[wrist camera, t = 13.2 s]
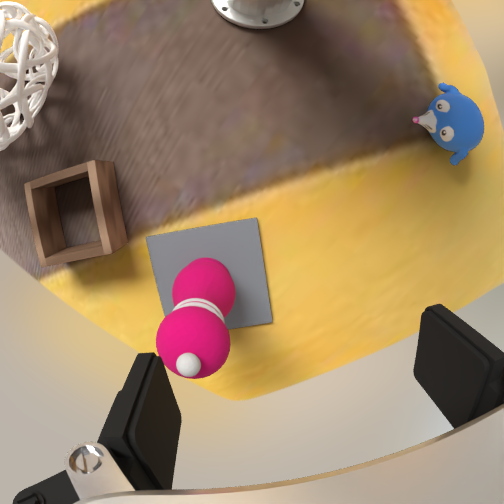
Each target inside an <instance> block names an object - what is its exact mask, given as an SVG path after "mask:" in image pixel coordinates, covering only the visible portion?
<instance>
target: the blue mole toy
mask: <svg viewBox="0 0 504 504" xmlns="http://www.w3.org/2000/svg"><path fill="white" fill-rule="evenodd" d="M439 89H440V90H441V91H443V92H445V94H442V95H439V96H438V97H436V98H435V99H434V100H433V101H432V102H431V104H430V105H429V108H428V110H427V112H426V113H425V114H424V115H422V116H420V117H413V119H412V121H413V122H414V123H419V124H420V125H422V126H423V127H425V128H426V129H427V130H428V131H429V133H430V135H431V136H432V138H433V139H434V141H435V142H436V143H437V144H438V145H439V146H441V147H442V148H444V149H446V150H448V151H451V152H455V153H454V154H453V155H452V156H451V158H450V163H451V164H452V165H457V164H458V163H459V162H460V161H461V160H462V159H464V158H465V157H466V156H467V155H468V151H470V150H472V149H474V148H475V147H476V146H477V145H478V144H479V143H480V141H481V139H482V137H483V133H484V121H483V117H482V114H481V112H480V110H479V108H478V107H477V105H476V104H475V103H474V102H473V101H472V100H471V99H470V98H468V97H466V96H464V95H462V94H461V93H460V92H459V91H458V89H457V88H455V87H454V86H452V85H447V84H445V83H440V84H439Z"/></svg>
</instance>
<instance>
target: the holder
mask: <svg viewBox="0 0 504 504" xmlns="http://www.w3.org/2000/svg"><path fill="white" fill-rule="evenodd" d="M85 177H89V180H90V186H91V192H92V197H93V203H94V208H95V213H96V218H97V223H98V228H99V233H100V237H101V240H100V241H96V242H91V243H86V244H82V245H77V246H72V247H68V248H67V247H66V243H65V239H64V234H63V230H62V225H61V220H60V215H59V210H58V205H57V199H56V193H55V187H56V186H59V185H62V184H65V183H69V182H72V181H75V180H79V179H82V178H85ZM24 187H25V194H26V200H27V206H28V212H29V217H30V222H31V227H32V232H33V236H34V241H35V245H36V249H37V253H38V257H39V261H40V265H41V267H46V266H51V265H56V264H61V263H66V262H71V261H76V260H81V259H86V258H91V257H97V256H102V255H107V254H112V253H114V252H115V251H117V250H118V249H120V248H121V247H123V246H124V245H126V244H127V243H128V239H127V234H126V230H125V225H124V220H123V215H122V210H121V205H120V199H119V194H118V188H117V182H116V176H115V169H114V163H113V162H109V161H100V160H93V161H89V162H86V163H83V164H80V165H76V166H73V167H70V168H67V169H64V170H61V171H58V172H55V173H52V174H49V175H46V176H43V177H41V178H38V179H35V180H32V181H30V182H27V183H24Z"/></svg>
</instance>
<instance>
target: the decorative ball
mask: <svg viewBox="0 0 504 504" xmlns="http://www.w3.org/2000/svg"><path fill="white" fill-rule="evenodd" d="M0 9H4V10H0V49H1V46H2V43H3V39H4V38H5V37H6V36H7V35H8V34H9V33H10V32H11V33H12V34H13V35H14V42H13V45H12V46H11V47H10V48H8V49H6V50H5V51H3V52H2V53H1V54H0V60H1V62H0V73H5V74H6V75H7V76H10V77H12V78H15V79H17V83H16V85H15V86H14V88H13V89H12V91H11V92H8V91H6V90H4V89H2V88H0V97H1V100H0V110H1V109H3V108H5V107H7V106H9V105H11V104H13V105H14V107H15V113H13V114H8V115H6V116H4V117H3V115H2V113H1V111H0V142H1V143H0V151H2V150H4V149H5V148H7V147H8V146H9V144H10V143H12V142H13V141H15V140H16V139H17V138H18V137H20V135H21V134H22V133H23V132H24V130H25V129H26V127H28V128H31V127H32V126H33V124H34V118H35V117H36V115H37V114H38V112H39V111H40V109H41V108H42V106H43V104H44V102H45V100H46V97H47V91H48V89H49V87H50V86H51V84H52V82H53V80H54V78H55V76H56V73H57V70H58V56H57V55H58V52H59V49H58V41H57V37H56V35H55V33H54V30H53V29H52V27H51V26H50V25H49V24H48V23H47V22H46V21H45V20H43V19H41V18H39V17H37V16H36V15H34V14H32V13H30V12H29V10H28V9H26V8H25V7H24V6H23V5H21V4H19V3H16V2H2V3H0ZM23 13H24V14H25V15H24V16H23ZM22 16H23V18H22ZM5 17H6V18H11V20H6V19H5ZM13 18H14V19H13ZM21 18H22V19H21ZM39 24H40V25H39ZM41 25H42V26H41ZM5 29H7V30H6V31H5ZM23 30H26V31H24V32H23ZM22 32H23V34H22ZM48 32H49V33H48ZM21 34H22V35H21ZM49 34H50V35H51V37H52V39H53V42H51V41H50V40H49V39H48V36H49ZM43 41H44V42H43ZM28 44H30V45H32V46H33V47H34V48H33V49H32V51H31V53H30V56H29V60H27V55H28ZM44 46H45V47H47V48H48V49H49V50H50V52H49V53H48V52H47V51H46V50H45V48H44ZM12 52H13V53H14V56H15V59H16V60H17V63H4V62H5V60H6V58H7V57H8V56H9V55H10V54H11V53H12ZM34 53H35V58H34V59H32V57H33V54H34ZM53 62H54V66H53V71H52V64H53ZM43 63H44V64H43ZM40 64H43V65H42V66H41V67H40ZM33 66H36V70H37V71H38V72H37V73H33V70H32V67H33ZM27 69H29V74H26V70H27ZM17 72H18V73H17ZM25 81H30V82H28V83H27V85H26V86H25V88H24V84H25ZM37 82H45V85H42V84H35V83H37ZM30 86H31V87H30ZM31 94H32V97H31V98H30V99H29V100H27V96H29V95H31ZM4 97H5V98H4ZM29 105H30V106H29ZM21 113H22V114H23V116H24V121H23V123H22V124H21V125H20V115H21ZM6 118H7V119H6ZM5 119H6V120H5ZM11 121H13V122H12V125H11V127H7V125H8V124H9V123H10V122H11Z"/></svg>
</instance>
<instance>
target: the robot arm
mask: <svg viewBox="0 0 504 504" xmlns="http://www.w3.org/2000/svg"><path fill="white" fill-rule="evenodd" d="M211 2H212V4H213V6H214V8H215V10H216V11H217V12H218V13H219V14H220V15H221V16H222V17H223V18H224V19H226V20H228V21H230V22H231V23H234V24H236V25H239V26H242V27H246V28H253V29H268V28H273V27H278V26H281V25H283V24H285V23H287V22H289V21H291V20H292V19H293V18H294V17H296V16H297V14H298V13H299V12H300V10H301V8H302V6H303V3H304V0H211ZM264 23H266V24H264ZM414 376H415V378H416V380H417V381H418V382H419V384H420V385H421V386H422V387H423V388H424V390H425V391H426V393H427V394H428V395H429V396H430V398H431V399H432V400H433V401H434V403H435V404H436V405H437V407H438V408H439V409H440V411H441V412H442V413H443V415H444V416H445V417H446V418H447V420H448V421H449V422H450V424H451V425H452V426H453V427H454V429H453V430H451V431H449V432H447V433H444V434H442V435H440V436H438V437H435V438H433V439H430V440H428V441H426V442H423V443H420V444H418V445H416V446H413V447H410V448H407V449H405V450H402V451H399V452H397V453H393V454H390V455H388V456H384V457H381V458H379V459H375V460H372V461H369V462H365V463H362V464H358V465H355V466H351V467H347V468H344V469H339V470H336V471H332V472H327V473H323V474H318V475H313V476H309V477H303V478H298V479H292V480H287V481H280V482H273V483H266V484H258V485H249V486H240V487H226V488H212V489H188V490H172V482H173V475H174V467H175V461H176V454H177V447H178V440H179V434H180V427H181V413H180V410H179V407H178V405H177V402H176V399H175V396H174V394H173V390H172V388H171V385H170V382H169V379H168V376H167V373H166V370H165V366H164V363H163V360H162V358H161V357H160V356H156V354H155V353H154V352H153V353H139V354H138V355H137V357H136V359H135V361H134V363H133V366H132V368H131V370H130V372H129V375H128V377H127V379H126V382H125V384H124V386H123V389H122V390H121V391H119V392H118V394H117V396H116V398H115V400H114V403H113V405H112V407H111V410H110V412H109V414H108V417H107V419H106V422H105V424H104V427H103V429H102V431H101V434H100V436H99V439H98V441H97V443H96V442H84V443H81V444H78V445H77V446H75V447H73V448H72V449H71V450H70V451H69V452H68V453H67V455H66V457H65V461H64V465H65V469H66V470H64V471H62V472H60V473H58V474H56V475H54V476H52V477H50V478H48V479H46V480H43V481H41V482H39V483H37V484H35V485H33V486H31V487H28V488H26V489H24V490H22V491H21V492H19V493H18V494H17V495H16V496H15V498H14V500H13V504H504V352H502V351H501V350H500V349H499V348H497V347H496V346H495V345H494V344H492V343H491V342H490V341H489V340H487V339H486V338H485V337H483V336H482V335H481V334H480V333H478V332H477V331H476V330H475V329H473V328H472V327H471V326H469V325H468V324H467V323H466V322H464V321H463V320H462V319H460V318H459V317H458V316H456V315H455V314H454V313H452V312H451V311H450V310H448V309H447V308H446V307H444V306H443V305H442V304H436V305H433V306H429V307H427V308H426V309H425V311H424V312H423V313H422V315H421V323H420V331H419V339H418V346H417V352H416V358H415V365H414Z"/></svg>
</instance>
